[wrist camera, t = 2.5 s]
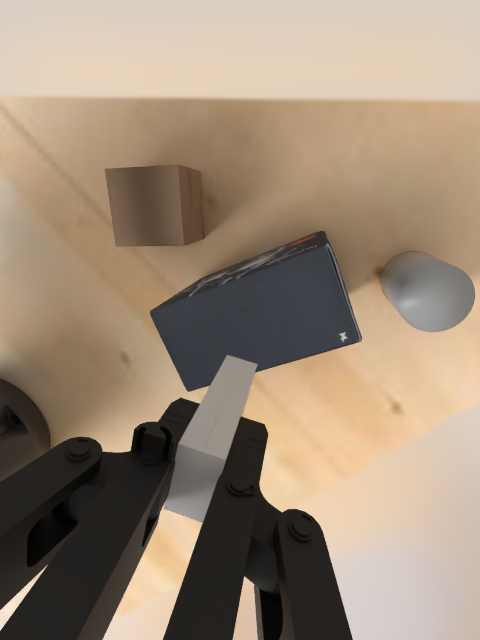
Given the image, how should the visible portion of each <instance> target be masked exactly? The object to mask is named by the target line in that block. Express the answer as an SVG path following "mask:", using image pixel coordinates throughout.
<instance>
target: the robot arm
mask: <svg viewBox="0 0 480 640" xmlns="http://www.w3.org/2000/svg"><path fill="white" fill-rule="evenodd" d="M256 368H257V364H255V363H252V362H249V361H245V360H242V359H239V358H236V357H233V356H229V355H227V356H226V358H225V360H224V362H223V363H222V365H221V367H220V369H219V371H218V372H217V374H216V376H215V378H214V380H213V382H212V383H211V385H210V387H209V389H208V391H207V392H206V394H205V396H204V398H203V400H202V402H201V403H200V404H198V403H195V402H192V401H189V400H186V399H183V398H179V399H178V400H176V401H174V402H172V403H171V404H170V405H169V407H168V408H167V410H166V411H165V413H164V414H163V415H162V417H161V419H160V420H159V421H158V422H146V423H143V424H140V425H139V426H137V427H136V428H135V429H134V434H133V440H132V447H131V451H129V452H124V453H113V452H102V447H101V445H100V444H99V443H98V442H97V441H96V440H94V439H91V438H89V437H75V438H70V439H68V440H66V441H64V442H62V443H60V444H59V445H57V446H56V447H54V448H52V449H51V450H49V448H50V437H49V432H48V428H47V425H46V423H45V420H44V418H43V416H42V415H41V413H40V411H39V410H38V408H37V407H36V406H35V404H34V403H33V402H32V401H31V400H30V399H29V398H28V397H27V396H26V395H25V394H24V393H23V392H21V391H20V390H19V389H17V388H16V387H14V386H13V385H11V384H9V383H7V382H5V381H3V380H0V610H1V609H2V608H3V607H4V606H5V605H6V604H7V603H8V602H9V601H10V600H11V599H12V598H13V597H14V596H15V595H16V594H17V593H19V592H20V591H21V590H22V589H23V588H24V587H25V586H26V585H27V584H28V583H29V582H30V581H31V580H32V579H33V578H34V577H35V576H36V575H37V574H38V573H39V572H40V571H42V570H43V569H44V568H45V567H46V566H47V565H48V566H47V567H46V568H45V570H44V571H43V573H42V574H41V575H40V577H39V578H38V580H37V581H36V582H35V584H34V585H33V586H32V588H31V589H30V591H29V592H28V593H27V595H26V596H25V598H24V599H23V600H22V602H21V603H20V604H19V606H18V607H17V609H16V610H15V611H14V613H13V614H12V616H11V617H10V618H9V620H8V621H7V623H6V624H5V625H4V627H3V628H2V629H1V631H0V640H102V639H103V637H104V635H105V633H106V631H107V629H108V627H109V624H110V622H111V620H112V618H113V616H114V614H115V612H116V610H117V608H118V606H119V603H120V601H121V599H122V597H123V595H124V593H125V591H126V589H127V587H128V585H129V582H130V580H131V578H132V576H133V574H134V572H135V570H136V568H137V566H138V563H139V561H140V559H141V557H142V555H143V553H144V551H145V549H146V547H147V545H148V542H149V540H150V538H151V536H152V534H153V532H154V530H155V528H156V526H157V523H158V519H159V515H160V511H161V509H162V507H163V505H164V503H165V506H164V509H166V510H169V511H172V512H175V513H177V514H180V515H183V516H186V517H188V518H191V519H194V520H197V521H200V522H202V523H203V524H202V527H201V530H200V533H199V536H198V539H197V541H196V544H195V547H194V550H193V553H192V556H191V559H190V562H189V565H188V568H187V571H186V574H185V577H184V579H183V582H182V585H181V588H180V591H179V594H178V597H177V600H176V603H175V606H174V609H173V612H172V615H171V617H170V620H169V624H168V627H167V630H166V633H165V635H164V638H163V640H232V639H233V634H234V628H235V623H236V618H237V612H238V607H239V601H240V596H241V590H242V585H243V579H244V576H245V577H246V578H247V579H249V580H250V581H251V582H253V583H254V591H255V604H256V605H255V606H256V620H257V633H258V640H353V639H352V635H351V632H350V628H349V625H348V621H347V617H346V614H345V610H344V606H343V603H342V599H341V596H340V592H339V588H338V585H337V581H336V578H335V574H334V570H333V567H332V563H331V560H330V556H329V552H328V549H327V545H326V542H325V538H324V534H323V531H322V530H321V527H320V525H319V524H318V522H317V521H316V520H315V519H314V518H313V517H312V516H310V515H309V514H307V513H306V512H304V511H301V510H297V509H288V510H286V511H284V512H280V511H279V510H277V509H276V508H275V507H273V506H272V505H271V504H270V503H268V502H267V500H266V499H265V498H264V497H263V495H262V493H261V491H260V487H259V481H260V476H261V470H262V465H263V460H264V454H265V449H266V443H267V438H268V432H267V429H266V427H265V424H262V423H259V422H256V421H253V420H250V419H247V418H244V417H242V415H243V412H244V408H245V405H246V402H247V398H248V395H249V391H250V388H251V385H252V381H253V378H254V374H255V371H256ZM165 501H166V502H165Z"/></svg>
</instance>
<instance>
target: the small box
mask: <svg viewBox="0 0 480 640" xmlns="http://www.w3.org/2000/svg"><path fill="white" fill-rule="evenodd" d="M150 315H151V317H152V319H153V322H154V324H155V326H156V328H157V330H158V332H159V334H160V336H161V338H162V340H163V343H164V344H165V346H166V349H167V351H168V353H169V355H170V357H171V359H172V361H173V364H174V365H175V367H176V370H177V371H178V373H179V376H180V378H181V380H182V382H183V384H184V386H185V388H186V390H187V391H188V392H190V391H193V390H196V389H199V388H203V387H206V386H210V385H211V383H212V382H213V380H214V378H215V376H216V374H217V372H218V371H219V369H220V367H221V365H222V363H223V362H224V360H225V358H226V356H227V355H229V356H233V357H236V358H239V359H242V360H245V361H249V362H252V363H255V364H257V368H256V371H255V372H258V371H262V370H265V369H268V368H272V367H275V366H279V365H282V364H286V363H289V362H293V361H296V360H300V359H303V358H306V357H310V356H313V355H317V354H320V353H324V352H327V351H330V350H334V349H337V348H341V347H344V346H348V345H351V344H354V343H357V342H361V340H362V336H361V333H360V331H359V328H358V325H357V322H356V319H355V316H354V313H353V310H352V306H351V303H350V300H349V297H348V293H347V290H346V287H345V284H344V281H343V278H342V275H341V272H340V269H339V265H338V263H337V260H336V258H335V255H334V252H333V250H332V248H331V245H330V243H329V241H328V239H327V237H326V234H325V232H324V231H320V232H317V233H314V234H311V235H309V236H307V237H304V238H301V239H299V240H297V241H294V242H292V243H289V244H286V245H284V246H281V247H279V248H277V249H274V250H271V251H269V252H266V253H264V254H261V255H259V256H257V257H254V258H251V259H249V260H246V261H244V262H241V263H239V264H236V265H234V266H232V267H229V268H226V269H224V270H221V271H219V272H216V273H214V274H211V275H209V276H206V277H204V278H201V279H199V280H198V281H196V282H195V283H193V284H192V285H190V286H189V287H187V288H186V289H184V290H182V291H181V292H179V293H178V294H176V295H174V296H173V297H172V298H170V299H168V300H167V301H165V302H164V303H162V304H161V305H159V306H158V307H156V308H154V309H153V310H151V311H150Z"/></svg>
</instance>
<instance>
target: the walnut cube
mask: <svg viewBox="0 0 480 640" xmlns="http://www.w3.org/2000/svg"><path fill="white" fill-rule="evenodd" d="M105 172H106V179H107V186H108V193H109V200H110V207H111V214H112V221H113V228H114V236H115V243H116V246H183V245H187V244H190V243H193V242H196V241H199V240H201V239H204V226H203V210H202V194H201V178H200V171H197V170H194V169H190V168H187V167H183V166H180V165H166V166H149V167H131V168H114V169H105Z"/></svg>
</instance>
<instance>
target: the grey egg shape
mask: <svg viewBox="0 0 480 640" xmlns="http://www.w3.org/2000/svg"><path fill="white" fill-rule="evenodd" d="M380 284H381V289H382V291H383V293H384V295H385V296H386V297H387V299H388V300H389V301H390V302H391V304H392V305H393V306H394V307H395V308H396V310H397V311H398V312H399V313H400V314H401V316H402V317H403V318H404V319H405V320H406V322H407V323H408V324H410V325H411V326H412V327H414V328H416V329H418V330H421V331H426V332H439V331H444V330H447V329H450V328H452V327H454V326H456V325H457V324H459V323H460V322H461V321H463V320H464V319H465V318H466V316H467V315H468V314H469V312H470V311H471V309H472V307H473V304H474V300H475V289H474V285H473V283H472V281H471V279H470V278H469V276H468V275H467V274H466V273H465V272H463V271H462V270H460V269H458V268H456V267H454V266H452V265H450V264H447V263H445V262H443V261H440V260H438V259H436V258H434V257H431V256H429V255H427V254H425V253H422V252H416V251H411V252H405V253H402V254H399V255H397V256H395V257H394V258H393V259H391V260H390V261H389V262H388V263H387V264H386V266H385V267H384V269H383V271H382V274H381V279H380Z"/></svg>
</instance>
